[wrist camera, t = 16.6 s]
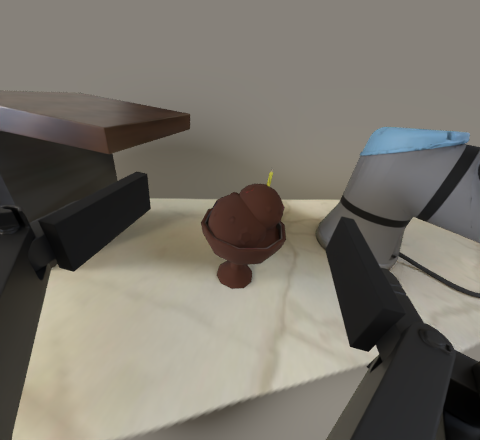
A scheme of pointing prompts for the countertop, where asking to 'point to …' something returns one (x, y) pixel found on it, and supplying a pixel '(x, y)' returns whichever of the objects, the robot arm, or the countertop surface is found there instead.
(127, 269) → the countertop surface
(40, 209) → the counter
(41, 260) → the robot arm
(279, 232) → the ice cream bowl
